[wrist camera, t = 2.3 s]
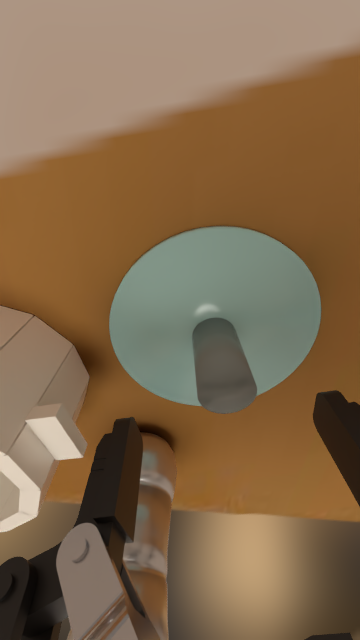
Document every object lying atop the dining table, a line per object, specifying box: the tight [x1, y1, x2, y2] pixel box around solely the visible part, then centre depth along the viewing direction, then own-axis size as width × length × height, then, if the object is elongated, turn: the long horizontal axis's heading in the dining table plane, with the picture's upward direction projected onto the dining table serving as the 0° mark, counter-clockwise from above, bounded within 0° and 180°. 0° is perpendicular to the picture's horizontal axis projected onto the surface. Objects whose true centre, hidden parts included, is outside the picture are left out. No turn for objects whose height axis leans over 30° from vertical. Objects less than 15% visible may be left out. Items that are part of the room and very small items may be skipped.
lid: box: [109, 226, 321, 414], centre depth 15 cm, size 14×14×6 cm
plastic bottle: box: [67, 432, 177, 640], centre depth 15 cm, size 6×7×20 cm
